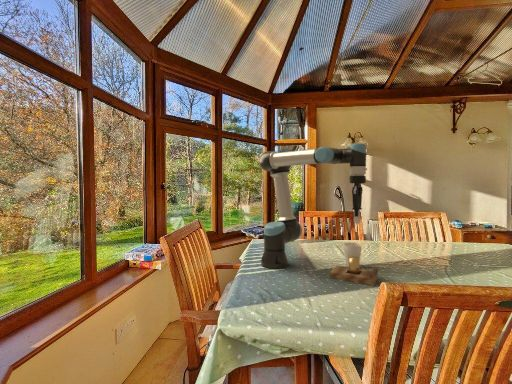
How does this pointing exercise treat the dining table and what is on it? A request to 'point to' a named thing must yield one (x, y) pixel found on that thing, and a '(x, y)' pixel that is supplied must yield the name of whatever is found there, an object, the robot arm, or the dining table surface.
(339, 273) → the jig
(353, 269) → the golden brass cylinder
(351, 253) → the cup
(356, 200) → the robot arm
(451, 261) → the dining table surface
